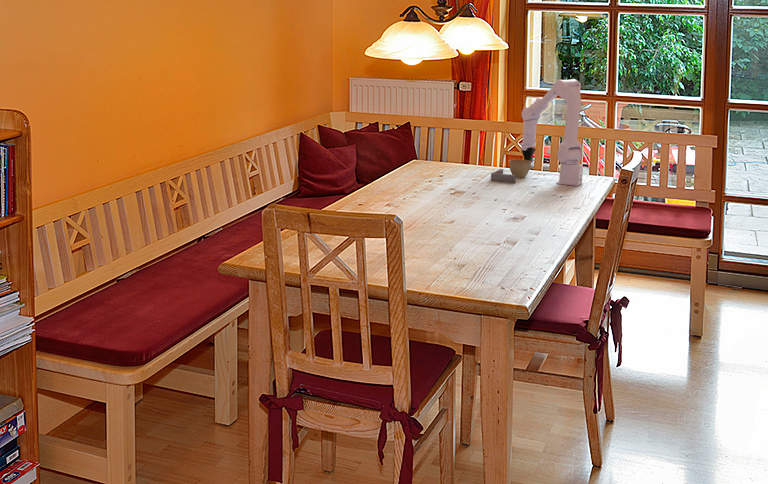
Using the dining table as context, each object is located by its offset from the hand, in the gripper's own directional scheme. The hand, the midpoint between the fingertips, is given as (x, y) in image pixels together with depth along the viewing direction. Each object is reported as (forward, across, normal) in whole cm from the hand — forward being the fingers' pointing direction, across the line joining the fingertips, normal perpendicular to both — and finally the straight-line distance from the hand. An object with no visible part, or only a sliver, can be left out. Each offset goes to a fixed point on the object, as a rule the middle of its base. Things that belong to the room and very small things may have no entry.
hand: (527, 164), depth 377 cm
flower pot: (+4, +11, 0) cm, 12 cm away
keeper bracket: (+4, +20, -2) cm, 21 cm away
